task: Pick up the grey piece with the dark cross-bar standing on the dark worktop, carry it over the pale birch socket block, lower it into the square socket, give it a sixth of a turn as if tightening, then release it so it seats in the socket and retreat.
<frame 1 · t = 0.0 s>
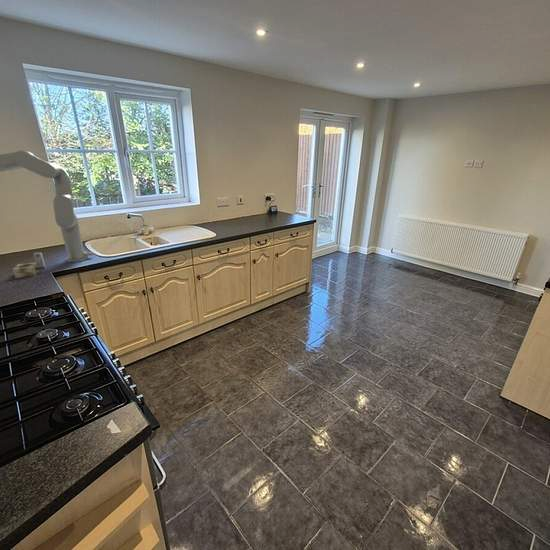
grey piece: (41, 267, 182), on the worktop
socket block: (27, 273, 171), on the worktop
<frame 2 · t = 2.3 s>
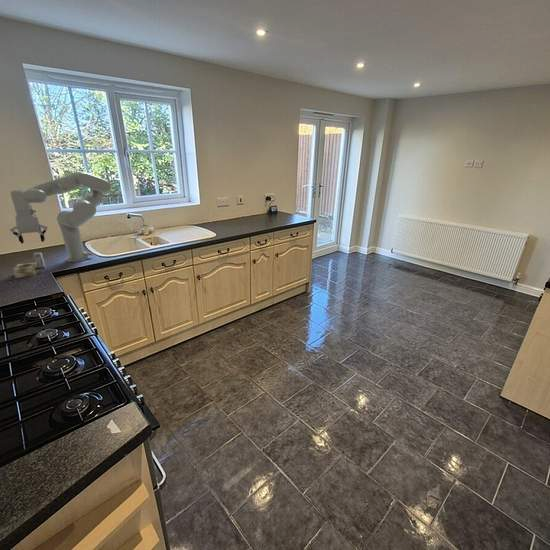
hand: (32, 242, 176), 16 cm above the worktop, fingers open, 9 cm apart
nothing on the worktop moved.
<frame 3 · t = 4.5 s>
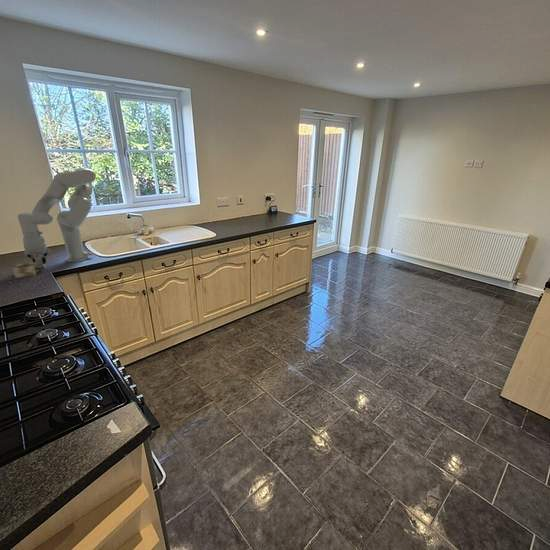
hand: (40, 263, 181), 2 cm above the worktop, fingers closed on grey piece, 3 cm apart
grey piece: (41, 267, 182), on the worktop, touching gripper
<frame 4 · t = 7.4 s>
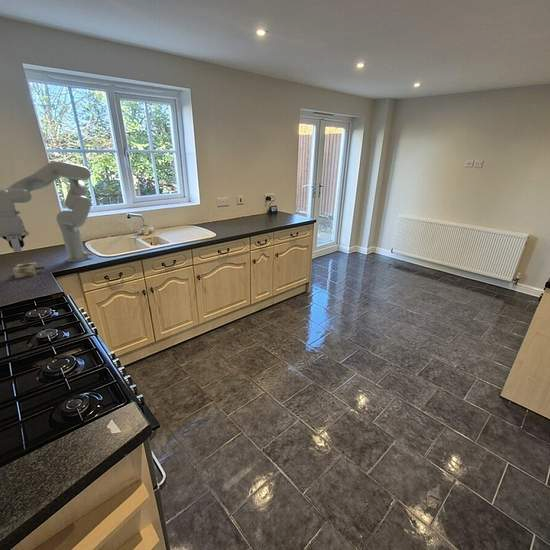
hand: (17, 247, 165), 16 cm above the worktop, fingers closed on grey piece, 3 cm apart
grey piece: (18, 250, 166), point 14 cm above the worktop, touching gripper
when the fingers open (6 cm above the worktop, at t = 10.2 s): grey piece drops 3 cm, resting in socket block.
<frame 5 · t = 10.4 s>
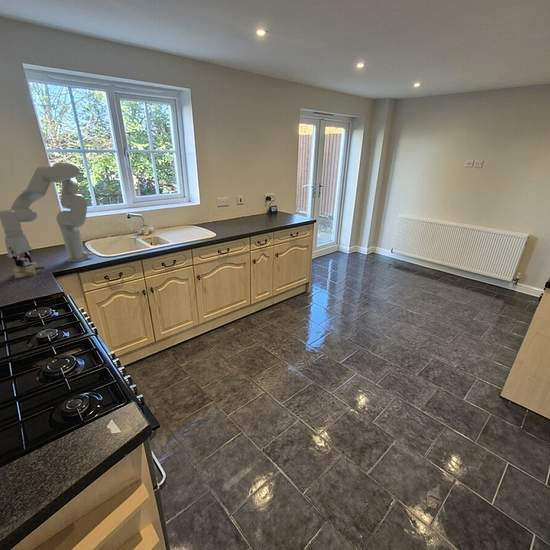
hand: (24, 264, 169), 6 cm above the worktop, fingers open, 5 cm apart
grey piece: (28, 273, 172), resting in socket block
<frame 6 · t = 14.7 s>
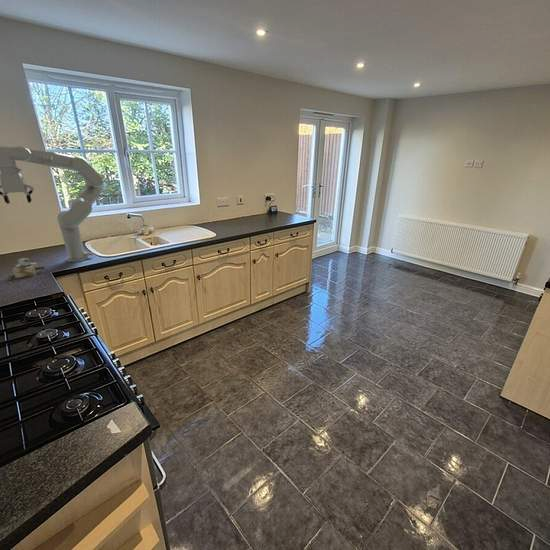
hand: (19, 202, 170), 38 cm above the worktop, fingers open, 9 cm apart
nothing on the worktop moved.
at the end: grey piece 0.3 cm off-centre on the socket block, point 0.0 cm above the socket block's base; grey piece tilted 0°; the gripper is holding nothing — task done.
